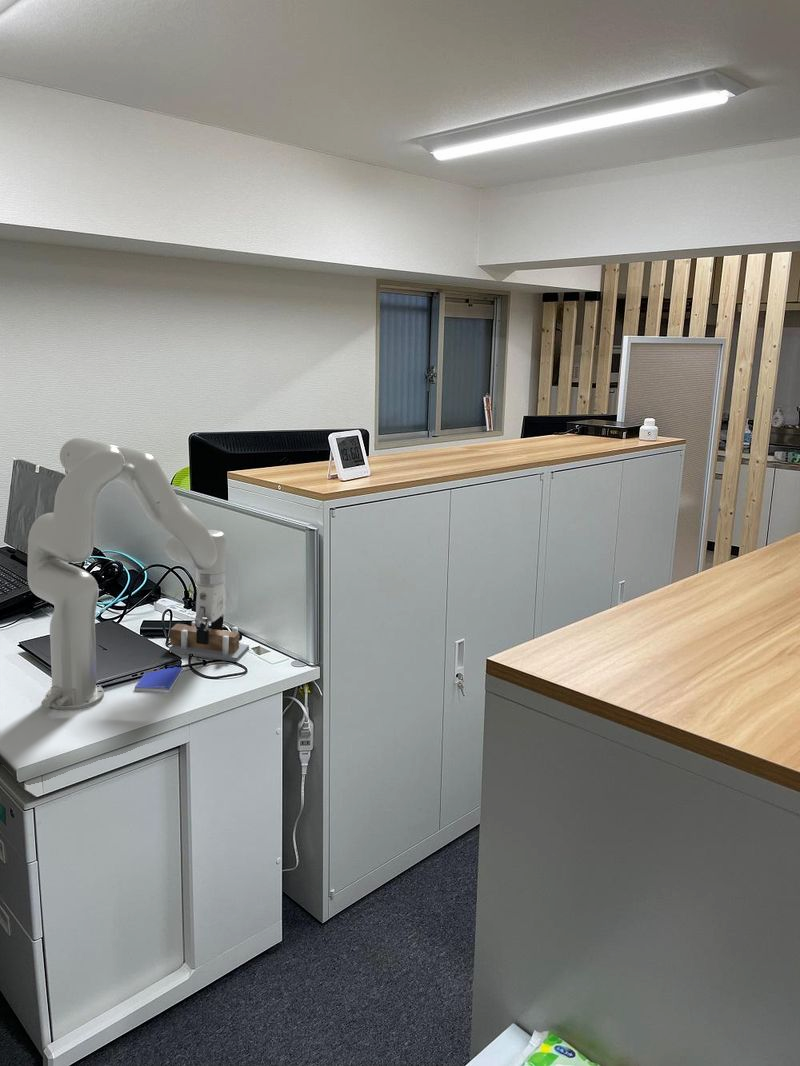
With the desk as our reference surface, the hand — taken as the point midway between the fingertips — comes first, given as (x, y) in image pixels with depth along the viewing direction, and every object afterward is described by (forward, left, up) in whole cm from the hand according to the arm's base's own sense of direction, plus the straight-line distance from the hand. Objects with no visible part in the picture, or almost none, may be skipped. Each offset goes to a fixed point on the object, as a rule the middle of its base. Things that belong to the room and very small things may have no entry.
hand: (209, 637), depth 214 cm
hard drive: (-21, +4, -5) cm, 22 cm away
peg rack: (0, 0, -4) cm, 4 cm away
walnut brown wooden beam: (0, +1, -3) cm, 3 cm away
